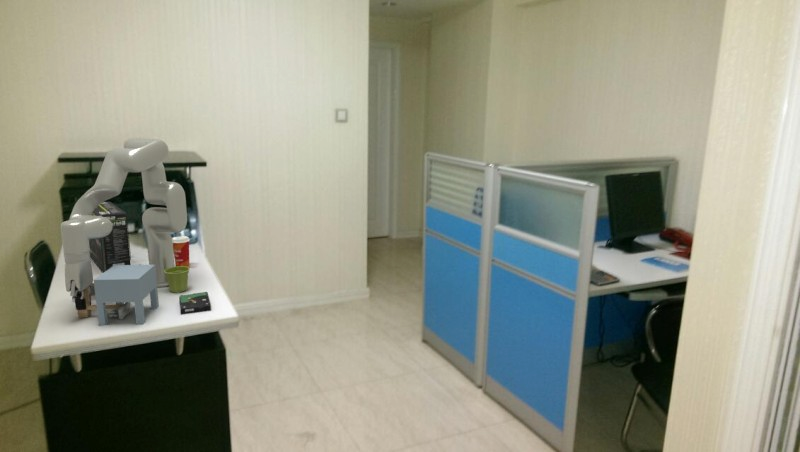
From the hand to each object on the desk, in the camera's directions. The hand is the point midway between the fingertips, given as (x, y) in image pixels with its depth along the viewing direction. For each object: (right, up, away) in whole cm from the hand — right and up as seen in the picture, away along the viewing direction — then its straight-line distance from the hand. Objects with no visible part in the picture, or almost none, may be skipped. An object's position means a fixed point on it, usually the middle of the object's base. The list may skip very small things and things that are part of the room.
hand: (83, 307), depth 180 cm
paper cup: (+11, +9, +56) cm, 58 cm away
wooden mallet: (+6, -3, +1) cm, 7 cm away
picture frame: (-6, +1, +25) cm, 26 cm away
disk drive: (+33, -2, +13) cm, 36 cm away
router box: (-23, +10, +59) cm, 64 cm away
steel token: (+10, -3, +2) cm, 11 cm away
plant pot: (+21, +2, +28) cm, 35 cm away
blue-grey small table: (+15, -3, +2) cm, 15 cm away
